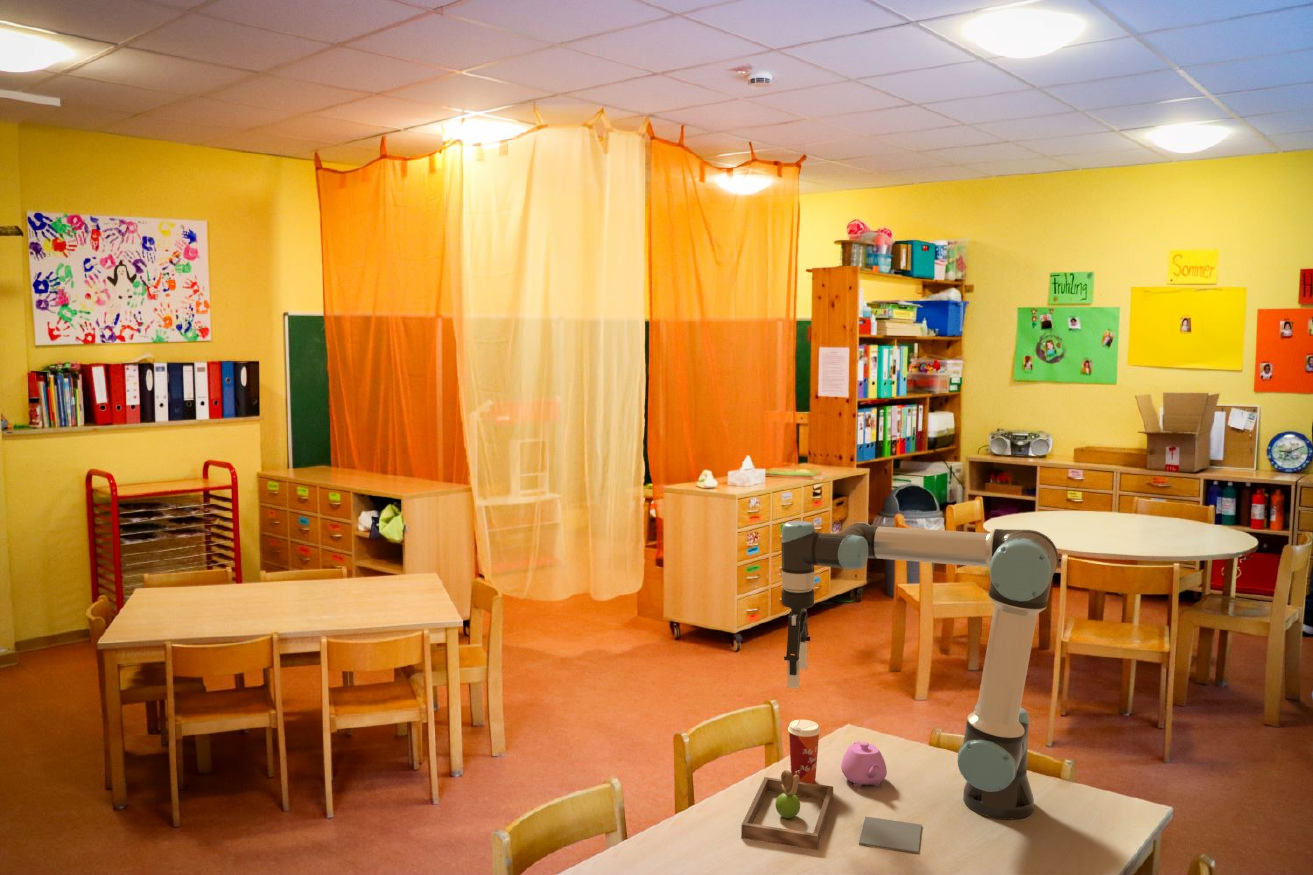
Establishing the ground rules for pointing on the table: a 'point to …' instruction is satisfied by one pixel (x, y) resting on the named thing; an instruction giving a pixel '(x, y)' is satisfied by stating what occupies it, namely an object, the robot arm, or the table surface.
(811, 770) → the paper cup
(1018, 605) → the robot arm
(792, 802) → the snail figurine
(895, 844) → the slate mat
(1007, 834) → the table surface
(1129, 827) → the table surface
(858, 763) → the pink rounded piece
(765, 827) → the brown wooden frame
